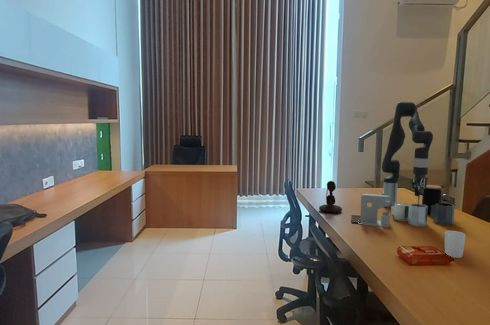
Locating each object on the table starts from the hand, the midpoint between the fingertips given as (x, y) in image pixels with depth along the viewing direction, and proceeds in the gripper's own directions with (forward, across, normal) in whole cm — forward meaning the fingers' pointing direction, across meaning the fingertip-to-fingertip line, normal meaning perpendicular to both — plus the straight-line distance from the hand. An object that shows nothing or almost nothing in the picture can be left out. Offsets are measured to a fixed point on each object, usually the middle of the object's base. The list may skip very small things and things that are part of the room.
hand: (418, 195), depth 203 cm
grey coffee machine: (+17, -20, +15) cm, 30 cm away
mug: (+17, +2, +12) cm, 21 cm away
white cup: (+17, -35, -35) cm, 52 cm away
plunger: (+12, 0, 0) cm, 12 cm away
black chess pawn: (+17, -19, +49) cm, 55 cm away
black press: (+17, +15, -6) cm, 24 cm away
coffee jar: (+17, +31, +8) cm, 36 cm away
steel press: (+17, 0, +1) cm, 17 cm away
